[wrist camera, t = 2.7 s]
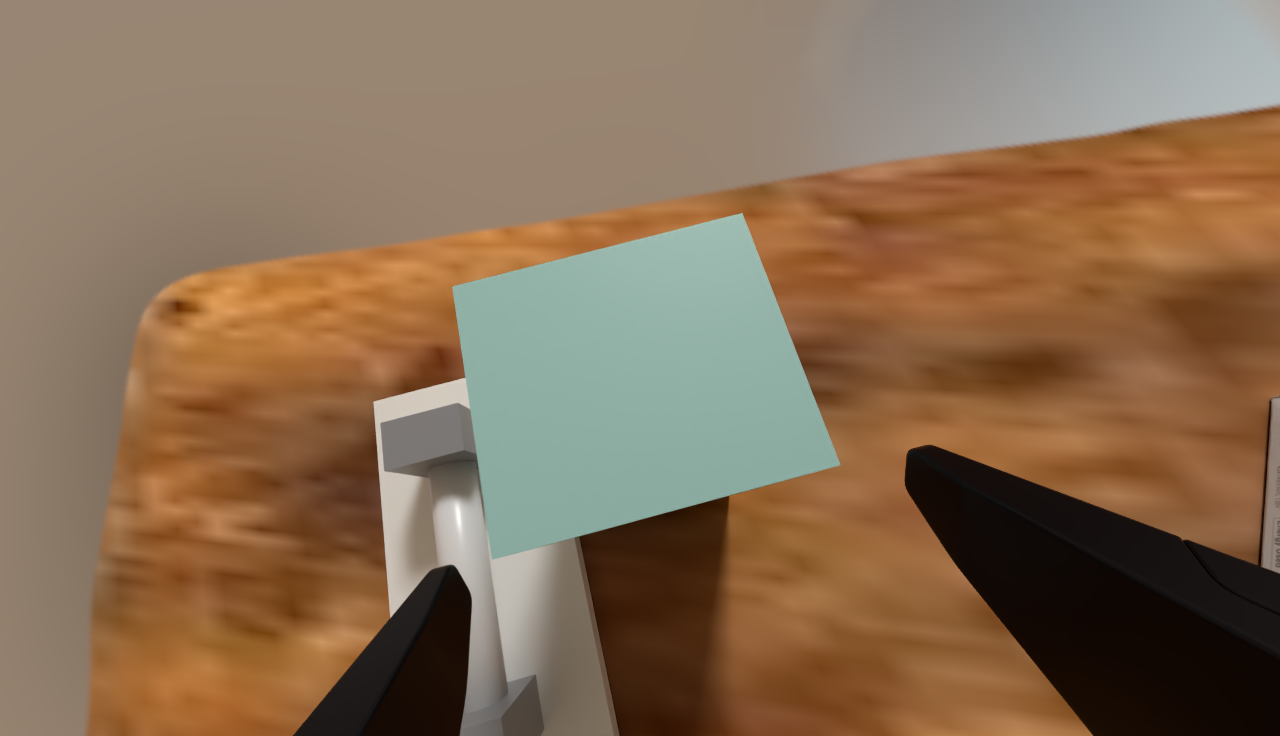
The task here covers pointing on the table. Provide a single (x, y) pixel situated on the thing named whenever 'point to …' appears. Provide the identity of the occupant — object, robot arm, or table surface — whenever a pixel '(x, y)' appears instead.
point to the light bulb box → (1272, 495)
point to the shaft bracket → (489, 577)
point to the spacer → (632, 385)
